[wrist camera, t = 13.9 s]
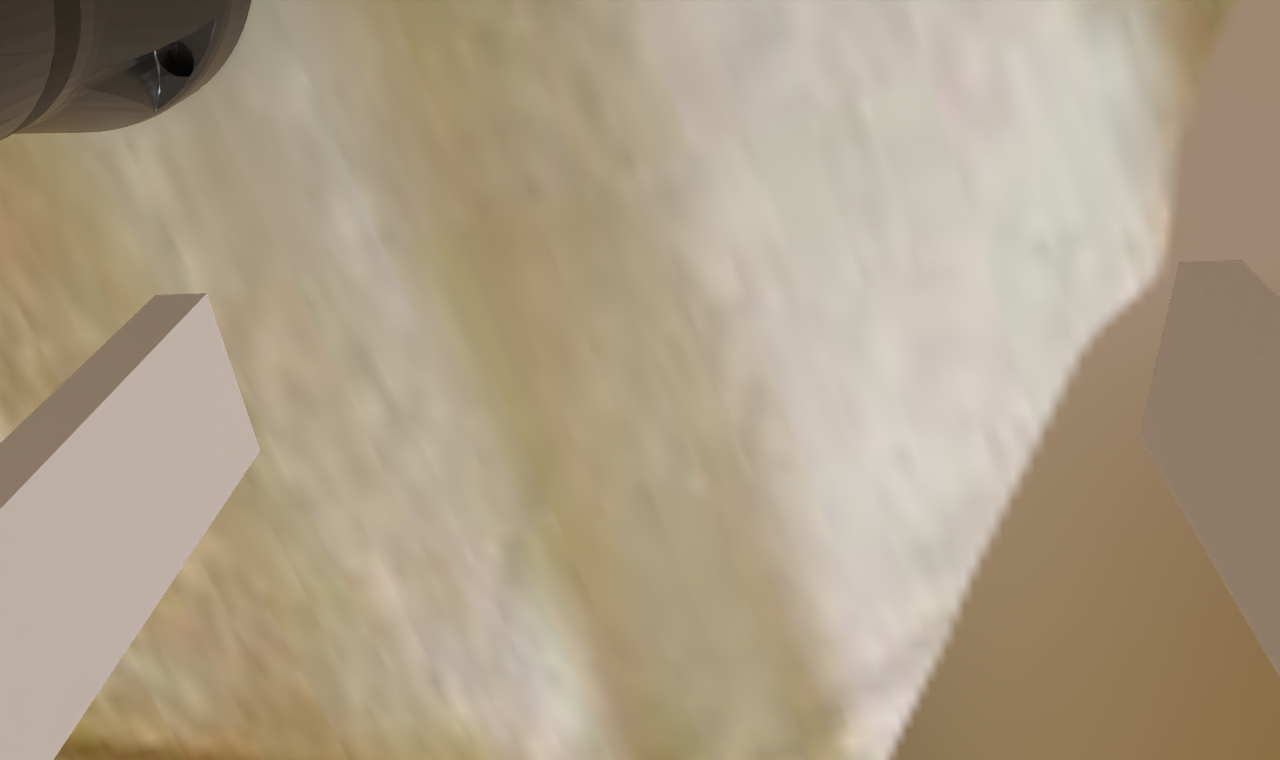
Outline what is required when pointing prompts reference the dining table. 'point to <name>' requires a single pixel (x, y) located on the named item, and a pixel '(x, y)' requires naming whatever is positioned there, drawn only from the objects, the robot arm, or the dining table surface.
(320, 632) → the dining table surface
